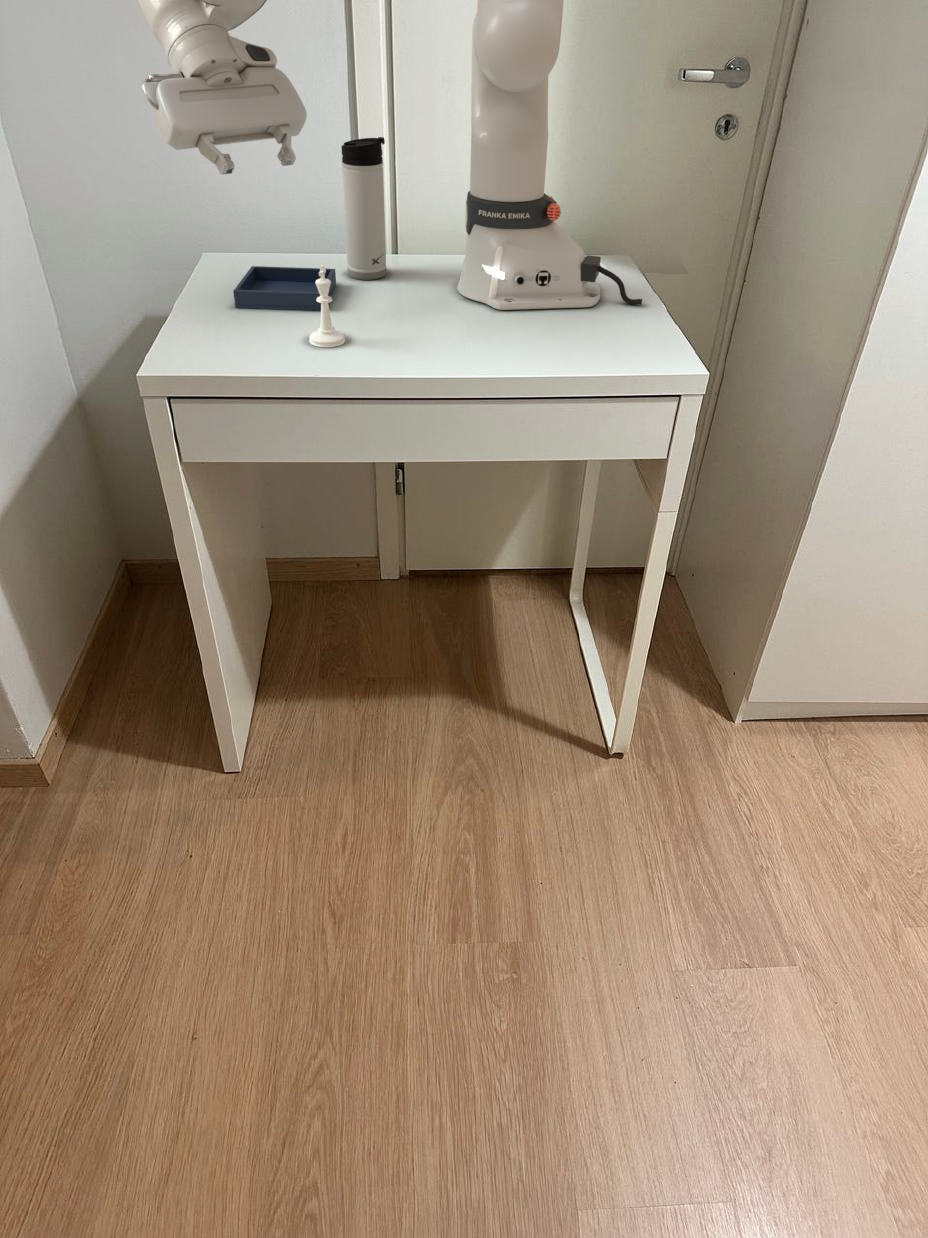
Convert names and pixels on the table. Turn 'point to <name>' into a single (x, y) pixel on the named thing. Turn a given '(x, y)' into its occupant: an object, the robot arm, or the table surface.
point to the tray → (281, 288)
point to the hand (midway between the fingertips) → (259, 166)
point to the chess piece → (325, 317)
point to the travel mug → (364, 207)
